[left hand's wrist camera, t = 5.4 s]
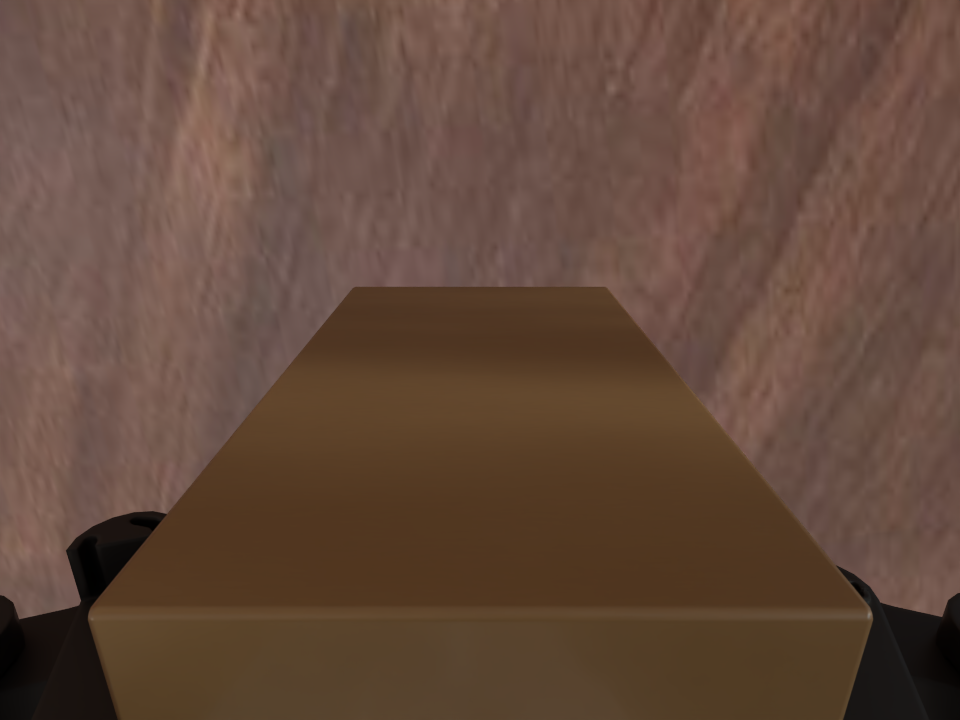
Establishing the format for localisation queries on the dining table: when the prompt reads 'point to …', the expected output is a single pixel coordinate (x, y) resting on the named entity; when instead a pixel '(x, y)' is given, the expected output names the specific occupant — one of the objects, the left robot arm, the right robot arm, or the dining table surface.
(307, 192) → the dining table surface
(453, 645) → the box
